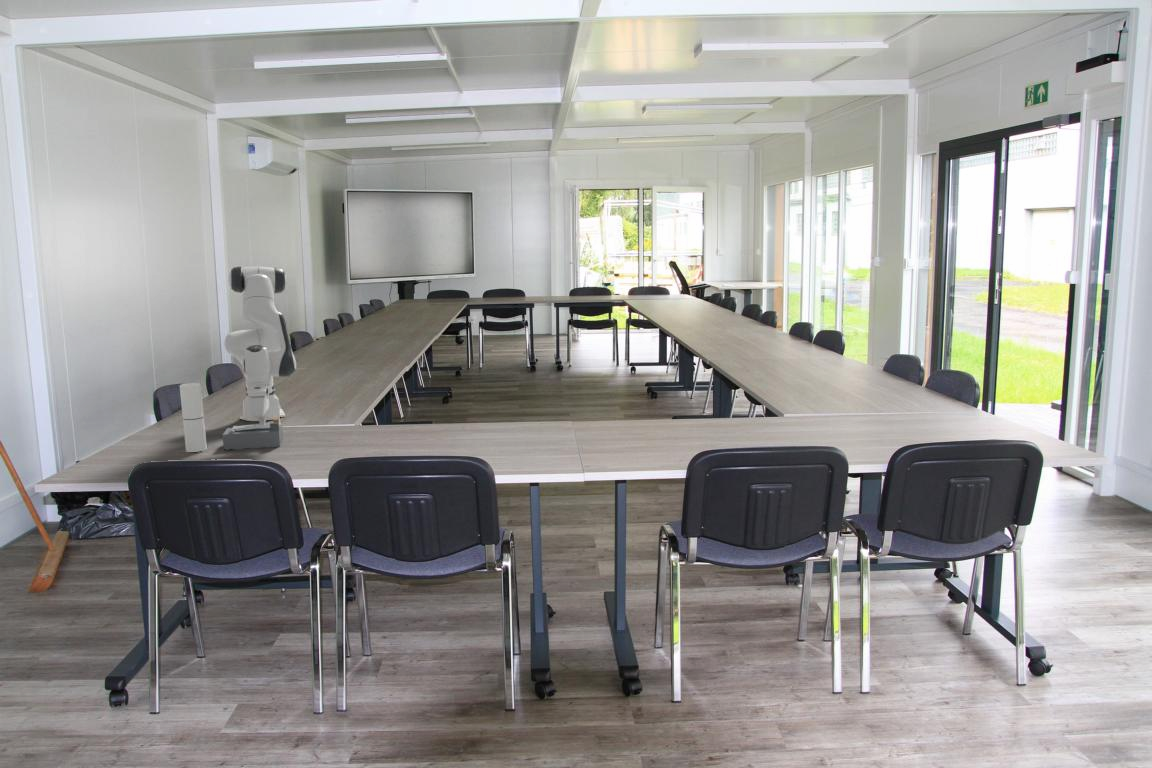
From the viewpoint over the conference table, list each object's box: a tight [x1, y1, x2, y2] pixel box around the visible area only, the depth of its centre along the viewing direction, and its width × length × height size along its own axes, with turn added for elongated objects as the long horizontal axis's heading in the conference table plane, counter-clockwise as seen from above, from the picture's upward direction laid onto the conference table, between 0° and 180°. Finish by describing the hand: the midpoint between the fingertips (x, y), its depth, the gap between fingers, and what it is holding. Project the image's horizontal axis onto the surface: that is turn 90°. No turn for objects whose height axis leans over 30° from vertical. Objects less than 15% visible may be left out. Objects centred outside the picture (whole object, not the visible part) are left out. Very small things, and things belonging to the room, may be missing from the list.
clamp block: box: [221, 422, 284, 450], centre depth 329 cm, size 11×20×9 cm, turn 103°
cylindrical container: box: [179, 382, 208, 453], centre depth 320 cm, size 7×7×25 cm
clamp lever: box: [231, 417, 282, 431], centre depth 328 cm, size 4×17×3 cm, turn 103°
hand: (262, 424), depth 328 cm, fingers closed, pressing on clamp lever
